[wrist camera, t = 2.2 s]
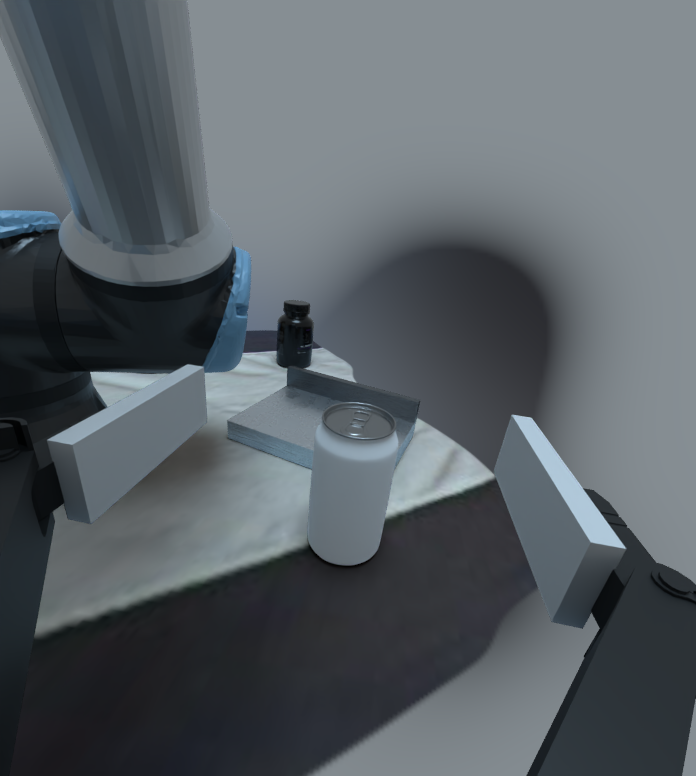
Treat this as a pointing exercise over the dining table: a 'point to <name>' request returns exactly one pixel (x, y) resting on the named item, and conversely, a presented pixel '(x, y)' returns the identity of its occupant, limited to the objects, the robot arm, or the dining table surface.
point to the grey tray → (313, 414)
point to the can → (351, 481)
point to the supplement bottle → (295, 335)
